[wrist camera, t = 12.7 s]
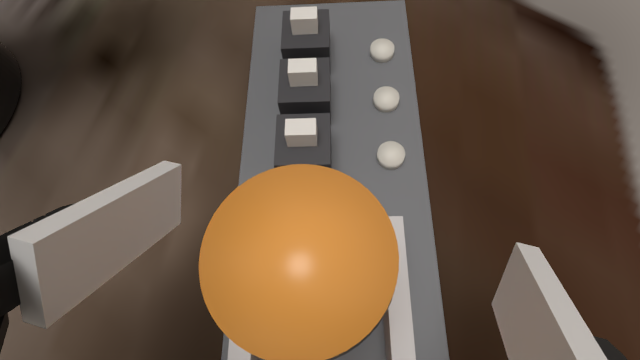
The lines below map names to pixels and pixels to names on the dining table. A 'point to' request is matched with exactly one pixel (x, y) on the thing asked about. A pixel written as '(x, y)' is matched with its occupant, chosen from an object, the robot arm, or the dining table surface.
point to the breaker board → (351, 143)
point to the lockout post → (299, 264)
